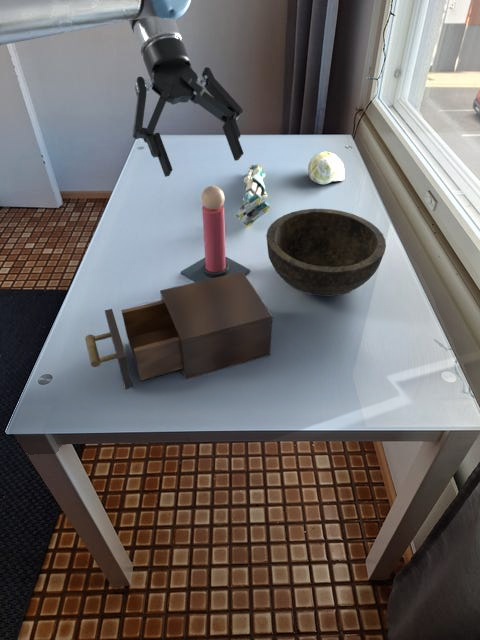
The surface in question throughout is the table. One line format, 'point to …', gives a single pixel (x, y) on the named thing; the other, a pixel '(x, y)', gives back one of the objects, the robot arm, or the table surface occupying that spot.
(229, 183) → the table surface
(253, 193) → the figurine
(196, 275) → the mat
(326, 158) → the seashell
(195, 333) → the cabinet
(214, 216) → the ball-topped pink peg
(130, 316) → the drawer
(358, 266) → the bowl
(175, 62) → the robot arm
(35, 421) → the table surface
